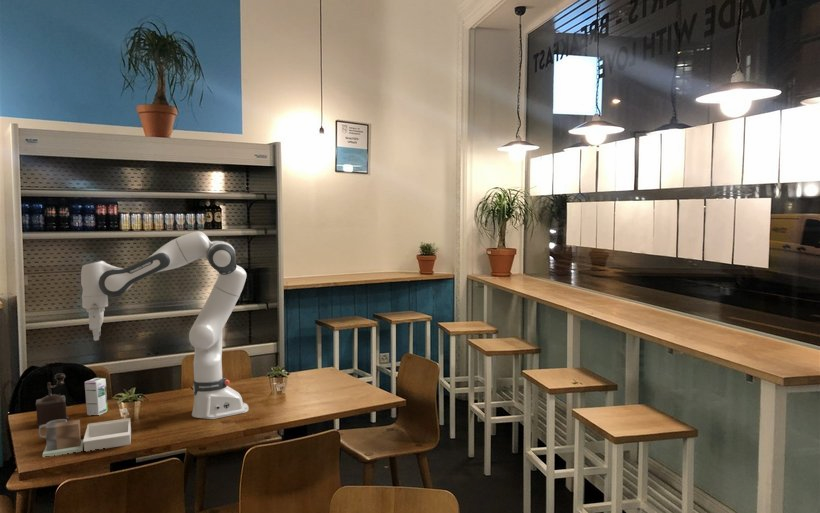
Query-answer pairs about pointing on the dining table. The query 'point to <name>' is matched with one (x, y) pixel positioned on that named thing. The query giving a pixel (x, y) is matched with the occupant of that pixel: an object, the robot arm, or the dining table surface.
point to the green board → (63, 450)
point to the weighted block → (63, 435)
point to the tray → (107, 434)
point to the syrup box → (96, 396)
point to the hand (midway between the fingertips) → (97, 338)
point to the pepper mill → (52, 404)
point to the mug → (46, 426)
